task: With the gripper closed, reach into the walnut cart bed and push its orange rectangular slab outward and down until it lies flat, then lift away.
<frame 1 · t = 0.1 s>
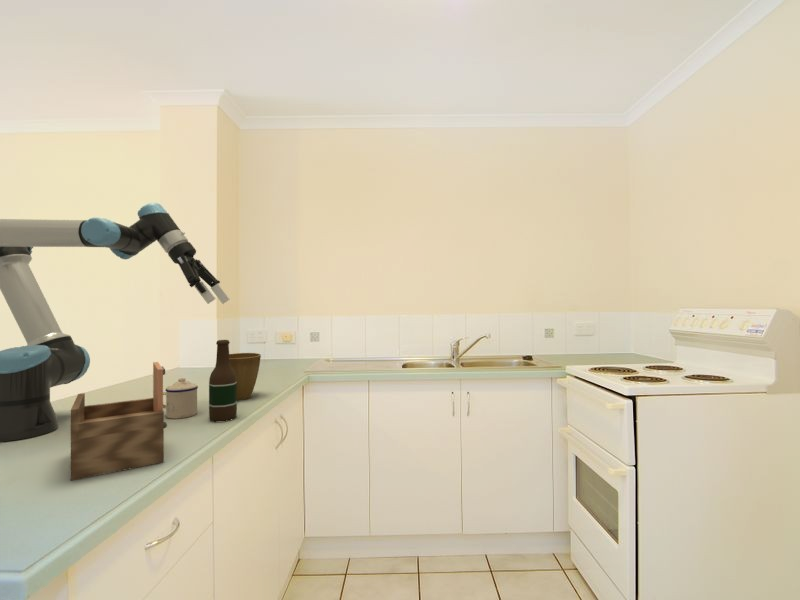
hand: (219, 301, 129), 36 cm above the counter, tool tilted 35°, fingers open, 13 cm apart
cart bed: (119, 457, 92), on the counter
beer bottle: (223, 419, 123), on the counter
plant pot: (240, 398, 151), on the counter
orange rectangular slab: (159, 390, 97), point 14 cm above the counter, hinge at 0.0°
teacup with lid: (177, 415, 128), on the counter
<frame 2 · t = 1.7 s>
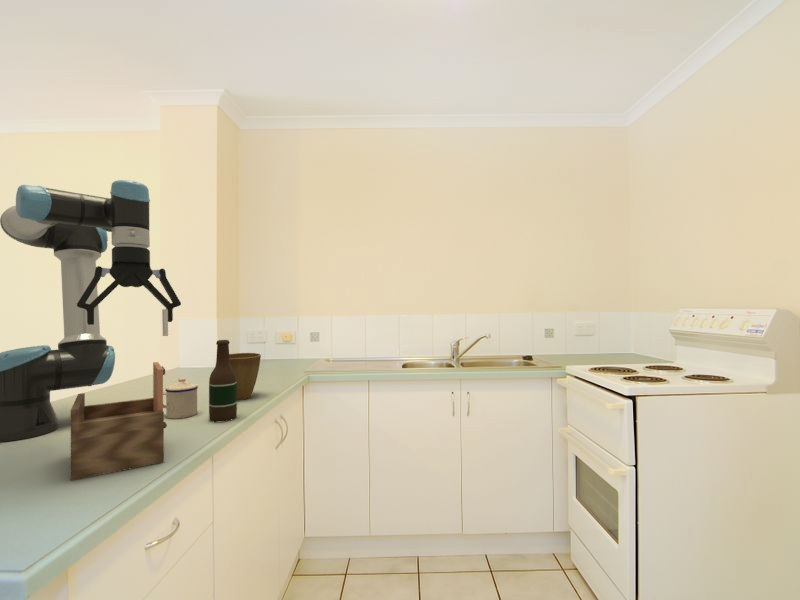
hand: (132, 337, 95), 27 cm above the counter, tool pointing down, fingers open, 13 cm apart
nothing on the counter moved.
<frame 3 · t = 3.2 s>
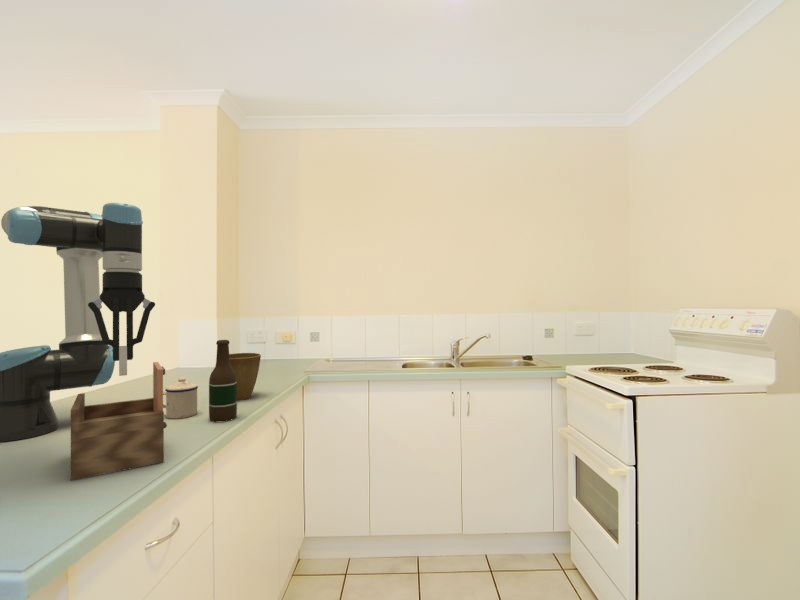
hand: (123, 374, 92), 19 cm above the counter, tool pointing down, fingers closed
nothing on the counter moved.
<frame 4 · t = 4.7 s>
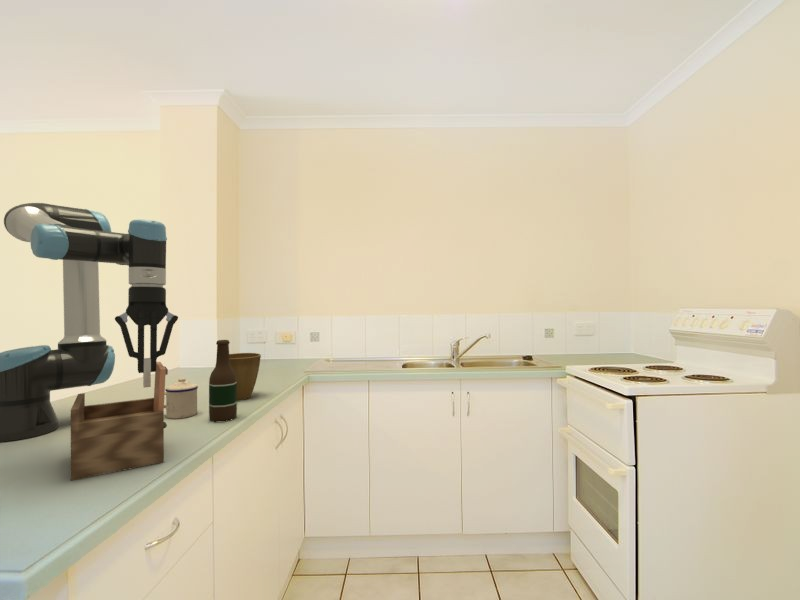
hand: (147, 386, 95), 16 cm above the counter, tool pointing down, fingers closed
orange rectangular slab: (161, 390, 97), point 14 cm above the counter, hinge at 2.6°, touching gripper
everything else where it was.
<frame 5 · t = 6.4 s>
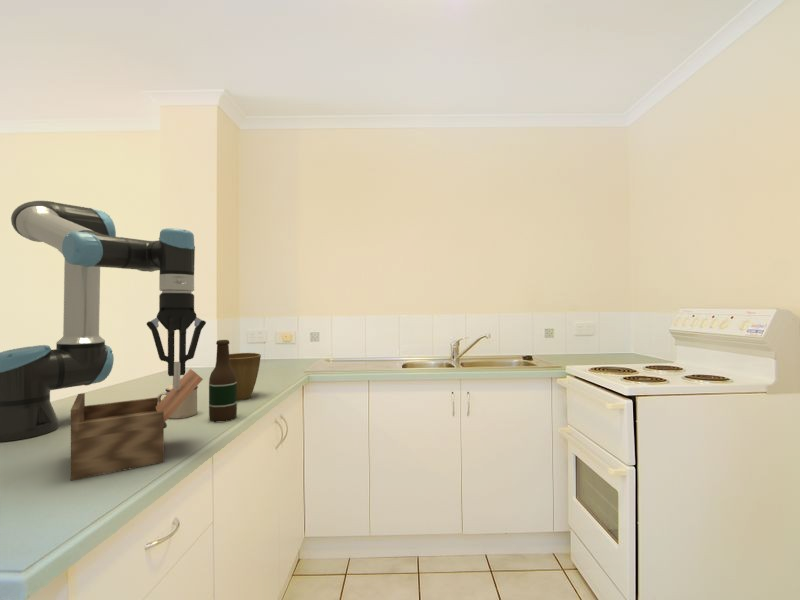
hand: (176, 388, 99), 14 cm above the counter, tool pointing down, fingers closed
orange rectangular slab: (179, 394, 99), point 13 cm above the counter, hinge at 41.9°, touching gripper
everything else where it was.
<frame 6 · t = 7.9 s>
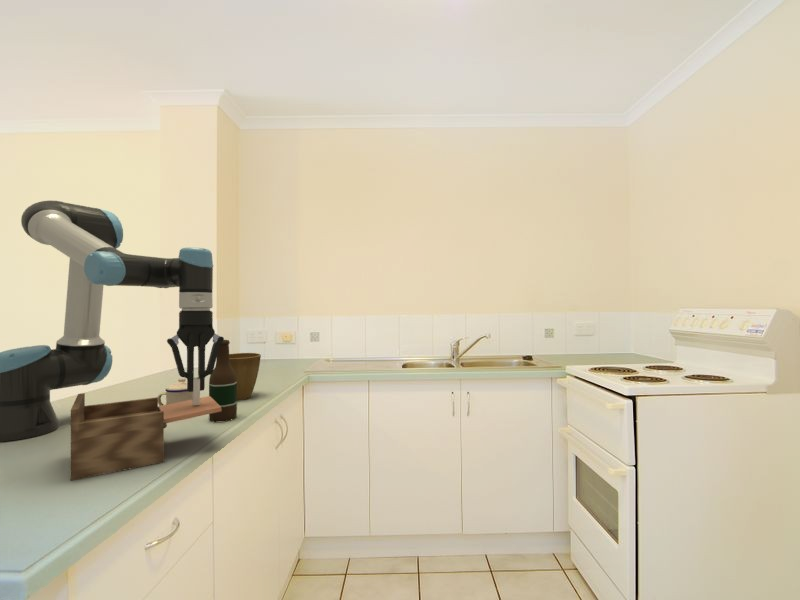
hand: (195, 404, 101), 10 cm above the counter, tool pointing down, fingers closed
orange rectangular slab: (189, 410, 100), point 9 cm above the counter, hinge at 85.5°, touching gripper
everything else where it was.
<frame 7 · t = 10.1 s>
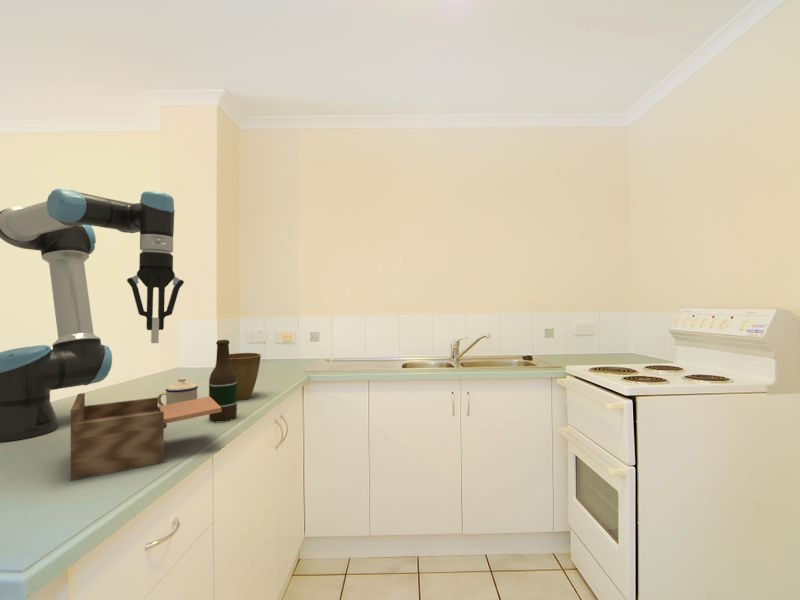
hand: (154, 342, 106), 25 cm above the counter, tool pointing down, fingers closed
orange rectangular slab: (189, 410, 100), point 9 cm above the counter, hinge at 86.1°
everything else where it was.
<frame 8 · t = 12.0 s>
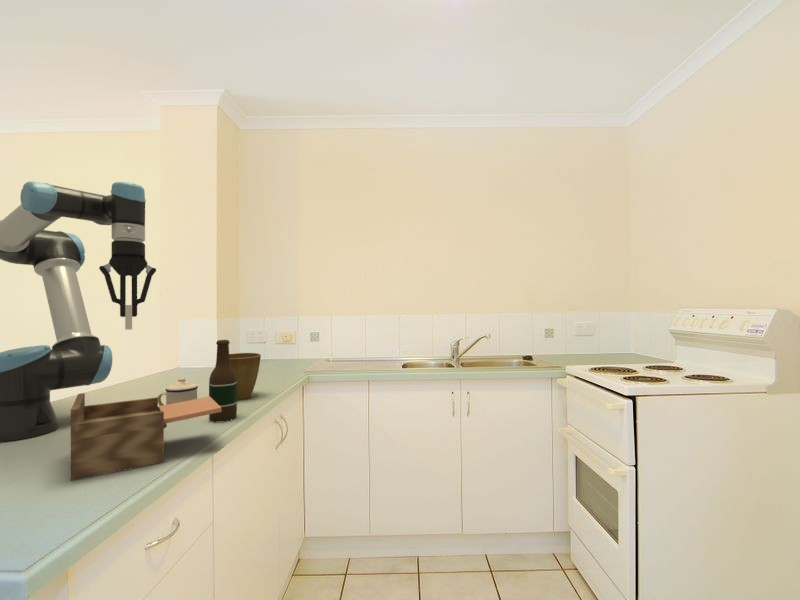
hand: (128, 329, 108), 28 cm above the counter, tool pointing down, fingers closed
nothing on the counter moved.
at the end: orange rectangular slab at +86° (first picture: +0°); beer bottle moved 0.2 cm from its start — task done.
